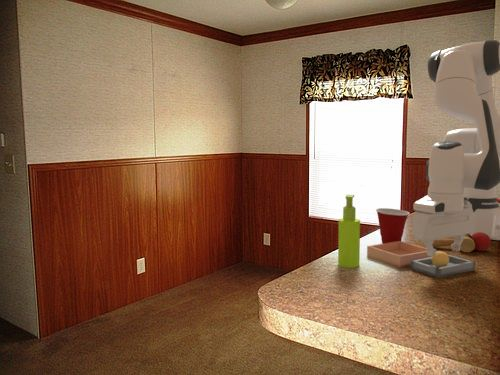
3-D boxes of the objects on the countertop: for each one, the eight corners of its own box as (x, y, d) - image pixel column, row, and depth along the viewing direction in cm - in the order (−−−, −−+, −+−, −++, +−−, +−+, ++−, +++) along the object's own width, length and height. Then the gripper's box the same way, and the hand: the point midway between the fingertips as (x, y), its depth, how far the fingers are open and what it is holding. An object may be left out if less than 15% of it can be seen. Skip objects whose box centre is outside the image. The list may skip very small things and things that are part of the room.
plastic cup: (411, 249, 138) (412, 213, 137) (376, 248, 140) (377, 212, 139) (406, 241, 149) (407, 207, 148) (374, 240, 151) (374, 207, 150)
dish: (399, 250, 137) (400, 241, 137) (434, 261, 125) (434, 250, 125) (367, 256, 131) (367, 246, 131) (399, 267, 119) (400, 256, 119)
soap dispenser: (360, 262, 125) (361, 194, 123) (358, 268, 119) (359, 197, 117) (340, 260, 127) (340, 193, 125) (337, 267, 121) (337, 196, 119)
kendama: (430, 255, 137) (494, 251, 131) (428, 235, 138) (491, 230, 132) (429, 253, 144) (490, 249, 138) (427, 234, 145) (487, 230, 139)
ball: (441, 259, 120) (436, 246, 118) (454, 263, 116) (449, 250, 114) (430, 268, 118) (425, 255, 117) (444, 272, 114) (439, 259, 113)
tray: (446, 262, 124) (446, 254, 124) (474, 270, 116) (475, 261, 116) (410, 268, 118) (411, 260, 118) (437, 278, 110) (438, 269, 110)
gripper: (461, 198, 122) (459, 245, 124) (408, 204, 114) (407, 255, 115) (481, 200, 117) (479, 250, 118) (427, 207, 108) (426, 261, 109)
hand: (443, 253), depth 117 cm, fingers open, 8 cm apart
